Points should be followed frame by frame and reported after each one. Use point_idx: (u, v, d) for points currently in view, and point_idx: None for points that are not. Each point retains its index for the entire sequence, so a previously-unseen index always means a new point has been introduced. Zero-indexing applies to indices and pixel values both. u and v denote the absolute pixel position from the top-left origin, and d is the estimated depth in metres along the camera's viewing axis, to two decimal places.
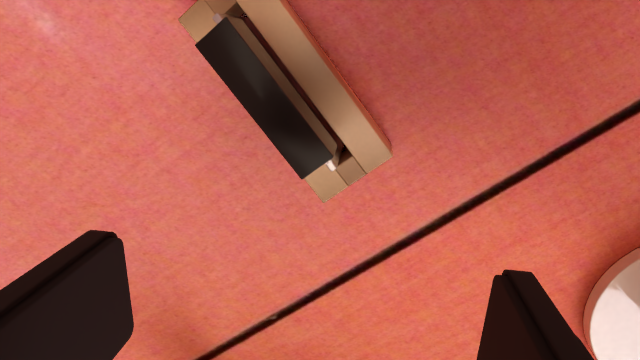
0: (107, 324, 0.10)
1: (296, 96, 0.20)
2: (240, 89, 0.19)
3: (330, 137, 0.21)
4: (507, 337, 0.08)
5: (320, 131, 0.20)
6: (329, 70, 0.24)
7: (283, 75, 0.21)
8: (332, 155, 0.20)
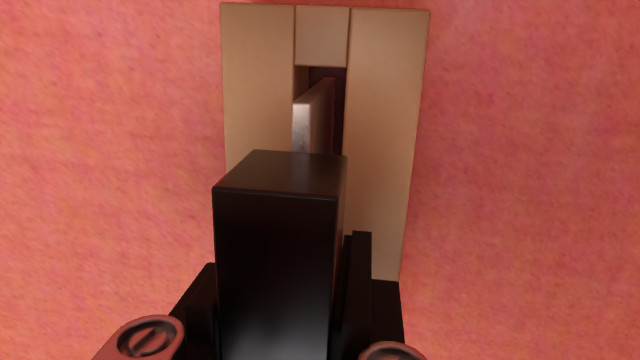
0: None
1: None
2: (241, 339, 0.07)
3: None
4: None
5: None
6: (397, 278, 0.13)
7: None
8: None
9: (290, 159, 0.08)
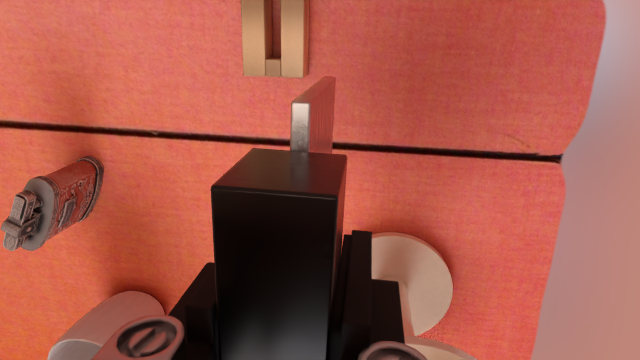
0: None
1: None
2: (240, 339, 0.07)
3: None
4: None
5: None
6: None
7: None
8: None
9: (289, 158, 0.08)
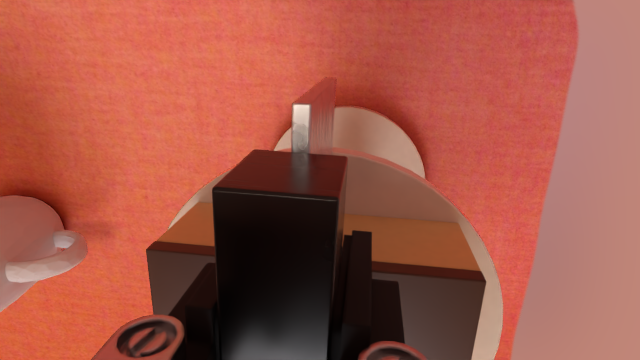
0: None
1: None
2: (240, 340, 0.07)
3: None
4: None
5: None
6: None
7: None
8: None
9: (290, 160, 0.08)
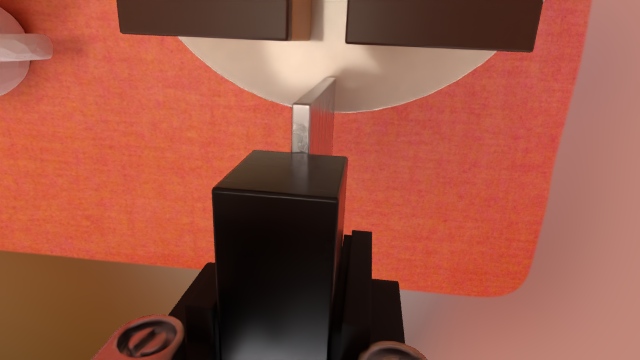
0: None
1: None
2: (240, 340, 0.07)
3: None
4: None
5: None
6: None
7: None
8: None
9: (290, 160, 0.08)
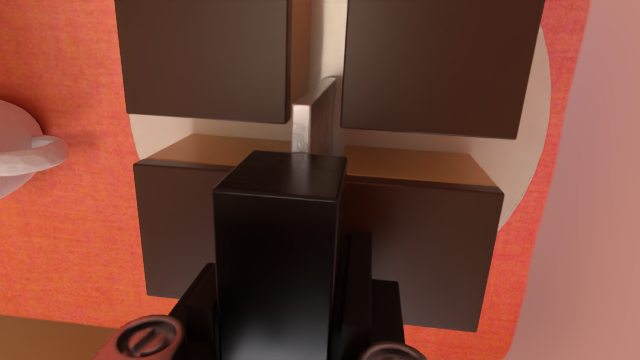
0: None
1: None
2: (240, 340, 0.07)
3: None
4: None
5: None
6: None
7: None
8: None
9: (290, 160, 0.08)
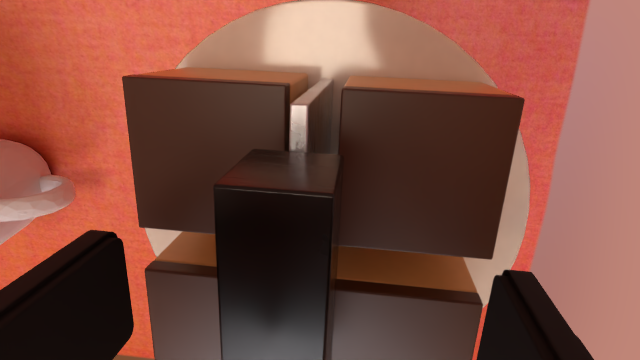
0: (107, 324, 0.10)
1: (330, 359, 0.09)
2: (241, 331, 0.07)
3: None
4: (507, 337, 0.08)
5: None
6: None
7: (334, 299, 0.10)
8: None
9: (288, 158, 0.08)
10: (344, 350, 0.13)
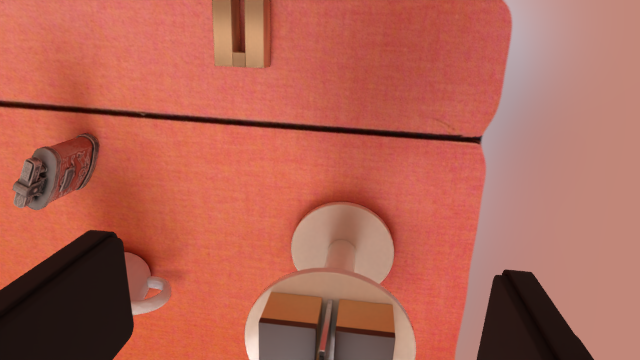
0: (107, 324, 0.10)
1: None
2: None
3: None
4: (507, 337, 0.08)
5: None
6: (262, 3, 0.41)
7: None
8: None
9: None
10: None
